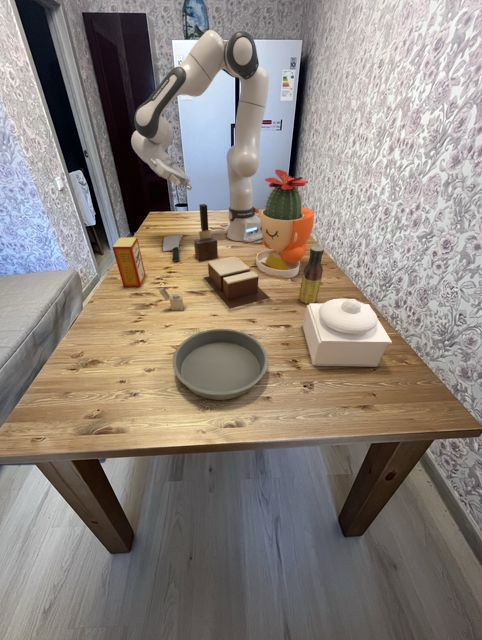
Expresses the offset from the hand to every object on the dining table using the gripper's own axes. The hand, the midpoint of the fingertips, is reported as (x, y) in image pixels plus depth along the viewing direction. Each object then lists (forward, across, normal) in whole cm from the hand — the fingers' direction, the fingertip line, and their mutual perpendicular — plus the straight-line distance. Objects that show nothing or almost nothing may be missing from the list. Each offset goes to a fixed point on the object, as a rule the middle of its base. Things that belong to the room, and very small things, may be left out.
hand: (185, 186), depth 120 cm
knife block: (+25, +2, +17) cm, 30 cm away
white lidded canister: (+85, -37, -5) cm, 93 cm away
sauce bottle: (+70, -18, -4) cm, 73 cm away
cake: (+44, -15, +12) cm, 48 cm away
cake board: (+48, -19, +11) cm, 52 cm away
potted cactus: (+52, +6, -3) cm, 53 cm away
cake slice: (+51, -22, +9) cm, 56 cm away
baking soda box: (+16, -26, +35) cm, 47 cm away
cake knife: (+25, +2, +17) cm, 30 cm away
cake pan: (+65, -57, +17) cm, 88 cm away
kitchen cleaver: (+8, +6, +27) cm, 28 cm away
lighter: (+39, -37, +25) cm, 59 cm away
